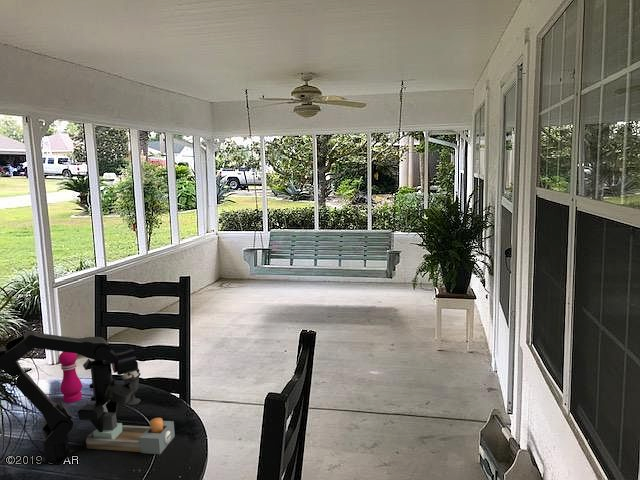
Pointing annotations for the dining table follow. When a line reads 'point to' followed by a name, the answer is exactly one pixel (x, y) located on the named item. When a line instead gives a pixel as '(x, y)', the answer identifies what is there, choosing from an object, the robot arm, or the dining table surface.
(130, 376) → the sundae
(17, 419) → the dining table surface
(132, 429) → the rail board
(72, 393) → the pepper mill
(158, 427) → the button
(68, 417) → the robot arm
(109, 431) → the carriage
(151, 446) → the cabinet
